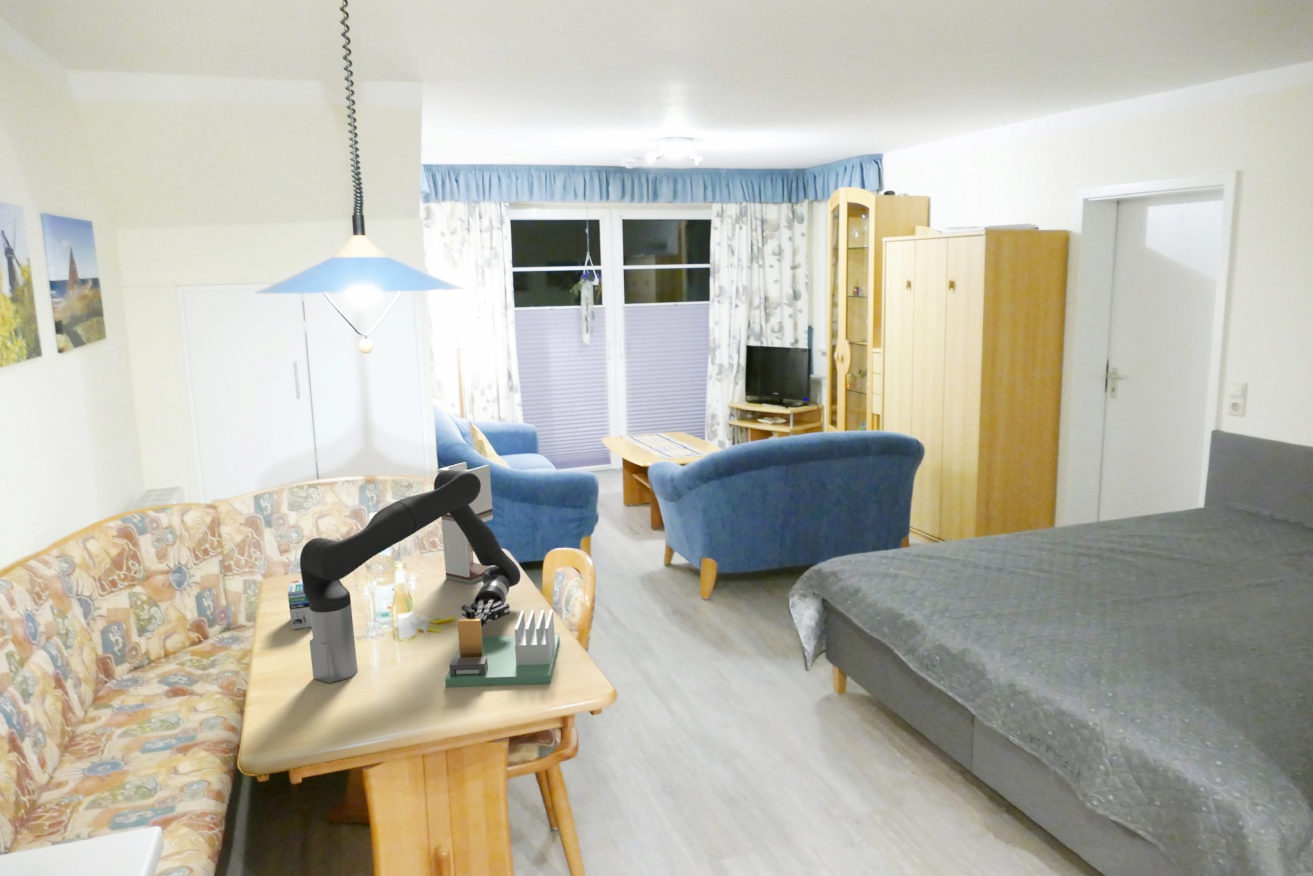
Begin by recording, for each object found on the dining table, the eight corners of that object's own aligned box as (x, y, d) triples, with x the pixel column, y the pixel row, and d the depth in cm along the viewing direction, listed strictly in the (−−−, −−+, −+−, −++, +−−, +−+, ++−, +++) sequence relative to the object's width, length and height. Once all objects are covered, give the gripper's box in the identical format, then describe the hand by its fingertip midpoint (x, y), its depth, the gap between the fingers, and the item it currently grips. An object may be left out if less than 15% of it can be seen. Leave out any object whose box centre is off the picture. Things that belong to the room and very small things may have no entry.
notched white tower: (470, 584, 278) (462, 472, 272) (446, 578, 284) (437, 469, 278) (496, 573, 288) (489, 465, 281) (472, 568, 293) (464, 462, 287)
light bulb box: (317, 626, 248) (313, 589, 247) (291, 630, 246) (287, 592, 244) (318, 613, 258) (314, 577, 256) (292, 617, 256) (288, 580, 254)
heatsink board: (465, 644, 233) (462, 603, 231) (559, 641, 233) (557, 600, 231) (445, 687, 210) (442, 642, 208) (550, 683, 210) (547, 638, 208)
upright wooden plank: (461, 663, 216) (458, 619, 214) (483, 662, 216) (480, 618, 214) (456, 674, 211) (453, 629, 209) (479, 673, 211) (476, 628, 209)
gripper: (465, 585, 242) (451, 609, 225) (515, 583, 242) (505, 607, 225) (467, 612, 243) (453, 638, 226) (517, 610, 243) (507, 636, 226)
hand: (479, 623), depth 226 cm, fingers closed
